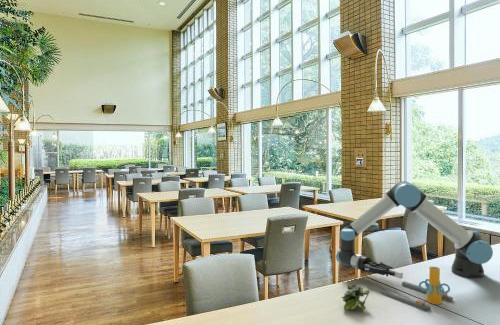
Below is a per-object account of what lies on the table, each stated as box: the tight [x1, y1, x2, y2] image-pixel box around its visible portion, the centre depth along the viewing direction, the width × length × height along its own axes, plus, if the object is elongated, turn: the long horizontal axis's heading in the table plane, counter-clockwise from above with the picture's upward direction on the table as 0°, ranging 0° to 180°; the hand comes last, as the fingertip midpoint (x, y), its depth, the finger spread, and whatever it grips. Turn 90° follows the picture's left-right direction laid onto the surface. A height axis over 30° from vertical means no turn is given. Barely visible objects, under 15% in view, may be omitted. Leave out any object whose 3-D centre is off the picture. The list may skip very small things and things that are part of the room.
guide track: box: [379, 280, 454, 312], centre depth 168 cm, size 24×19×2 cm
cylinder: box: [418, 266, 451, 305], centre depth 162 cm, size 12×10×15 cm
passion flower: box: [341, 284, 370, 311], centre depth 157 cm, size 11×11×12 cm
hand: (401, 275), depth 174 cm, fingers closed
